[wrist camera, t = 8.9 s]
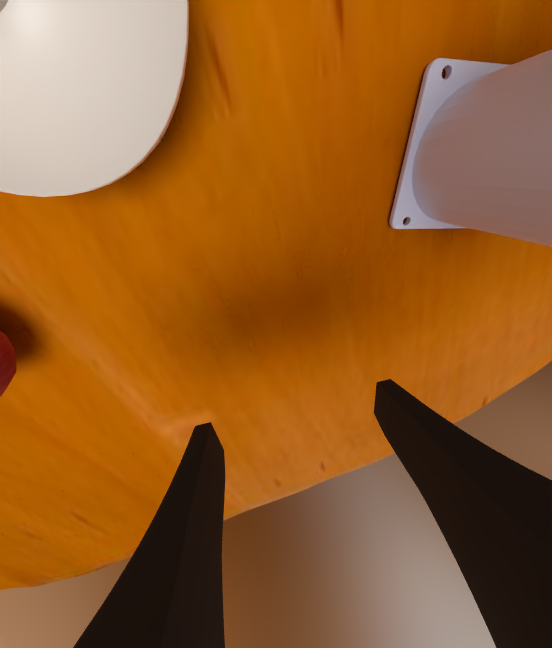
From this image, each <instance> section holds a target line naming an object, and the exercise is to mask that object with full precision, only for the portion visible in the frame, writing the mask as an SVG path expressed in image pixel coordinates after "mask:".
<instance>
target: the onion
mask: <svg viewBox="0 0 552 648" xmlns="http://www.w3.org/2000/svg"><path fill="white" fill-rule="evenodd" d="M15 373H16V356H15V349H14V348H13V346H12V344H11V343H10V341H9V339H8V337H7V336H6V335H5V334H4V333H3V332H1V331H0V396H2V394H3V393H4V391H5V390H6V388H7V387H8V385H9V383H10V382H11V380H12V378H13V376H14V375H15Z"/></svg>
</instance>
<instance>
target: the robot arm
mask: <svg viewBox="0 0 552 648" xmlns="http://www.w3.org/2000/svg"><path fill="white" fill-rule="evenodd" d="M443 68H444V69H445V71H446V76H445V78H444V79H443V78H442V71H443ZM406 217H407V221H406V222H405V223H404V224H403V220H404V218H406ZM389 224H390V226H391V227H392V228H394V229H442V228H470V229H475V230H479V231H484V232H488V233H493V234H497V235H501V236H506V237H510V238H515V239H519V240H524V241H528V242H533V243H537V244H542V245H546V246H551V247H552V49H551V50H548V51H546V52H543V53H541V54H538V55H536V56H533V57H530V58H528V59H525V60H523V61H520V62H517V63H515V64H512V65H508V64H498V63H488V62H477V61H467V60H457V59H447V58H438V59H435V60H434V61H432V62H431V63H429V65H428V66H427V68H426V70H425V73H424V76H423V81H422V85H421V89H420V93H419V98H418V102H417V106H416V110H415V115H414V119H413V123H412V127H411V132H410V136H409V140H408V144H407V149H406V153H405V157H404V161H403V166H402V170H401V174H400V178H399V183H398V187H397V191H396V195H395V199H394V204H393V208H392V212H391V216H390V221H389ZM374 414H375V416H376V418H377V421H378V423H379V425H380V427H381V429H382V431H383V433H384V435H385V437H386V438H387V440H388V442H389V443H390V445H391V446H392V448H393V450H394V451H395V453H396V454H397V456H398V457H399V459H400V461H401V462H402V464H403V465H404V467H405V468H406V470H407V472H408V473H409V475H410V476H411V478H412V479H413V481H414V483H415V484H416V486H417V487H418V489H419V490H420V492H421V494H422V496H423V497H424V499H425V501H426V503H427V505H428V507H429V508H430V510H431V512H432V514H433V516H434V518H435V520H436V522H437V524H438V526H439V527H440V529H441V531H442V533H443V535H444V537H445V539H446V541H447V543H448V545H449V547H450V549H451V551H452V553H453V555H454V557H455V559H456V561H457V563H458V565H459V567H460V569H461V572H462V574H463V576H464V578H465V580H466V582H467V584H468V586H469V588H470V590H471V592H472V594H473V596H474V599H475V601H476V603H477V605H478V608H479V610H480V612H481V614H482V616H483V618H484V620H485V623H486V625H487V627H488V629H489V632H490V634H491V636H492V638H493V641H494V643H495V645H496V648H552V480H550V479H548V478H546V477H544V476H542V475H540V474H538V473H536V472H534V471H532V470H530V469H528V468H526V467H524V466H522V465H520V464H519V463H517V462H515V461H513V460H511V459H509V458H508V457H506V456H504V455H502V454H501V453H499V452H497V451H495V450H494V449H492V448H490V447H489V446H487V445H485V444H483V443H482V442H480V441H479V440H477V439H475V438H474V437H472V436H471V435H469V434H467V433H466V432H464V431H463V430H461V429H459V428H458V427H457V426H455V425H454V424H452V423H451V422H449V421H448V420H446V419H445V418H443V417H442V416H440V415H439V414H438V413H436V412H435V411H433V410H432V409H430V408H429V407H428V406H426V405H425V404H423V403H422V402H421V401H419V400H418V399H417V398H415V397H414V396H412V395H411V394H410V393H408V392H407V391H406V390H404V389H403V388H402V387H400V386H399V385H398V384H396V383H395V382H394V381H392V380H391V379H389V380H384V381H380V382H377V385H376V396H375V407H374ZM224 493H225V460H224V449H223V447H222V445H221V443H220V441H219V439H218V437H217V435H216V432H215V430H214V428H213V426H212V424H211V422H210V423H206V424H201V425H197V426H196V427H195V428H194V430H193V433H192V435H191V438H190V441H189V443H188V446H187V448H186V450H185V453H184V455H183V458H182V460H181V462H180V465H179V467H178V469H177V471H176V473H175V476H174V478H173V480H172V482H171V484H170V486H169V489H168V491H167V493H166V495H165V497H164V499H163V501H162V503H161V505H160V507H159V509H158V511H157V513H156V515H155V517H154V518H153V520H152V522H151V524H150V526H149V528H148V530H147V531H146V533H145V535H144V537H143V539H142V540H141V542H140V544H139V546H138V547H137V549H136V551H135V553H134V554H133V556H132V558H131V559H130V561H129V563H128V564H127V566H126V568H125V569H124V571H123V572H122V574H121V576H120V577H119V579H118V581H117V582H116V584H115V585H114V587H113V589H112V590H111V592H110V593H109V595H108V596H107V598H106V600H105V601H104V603H103V604H102V606H101V607H100V609H99V610H98V612H97V613H96V615H95V616H94V618H93V619H92V621H91V622H90V623H89V625H88V626H87V628H86V629H85V631H84V632H83V634H82V635H81V637H80V638H79V640H78V641H77V643H76V644H75V646H74V647H73V648H225V641H224V619H223V594H222V529H223V512H224Z"/></svg>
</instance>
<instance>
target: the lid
mask: <svg viewBox="0 0 552 648" xmlns="http://www.w3.org/2000/svg"><path fill="white" fill-rule="evenodd" d="M188 41H189V1H188V0H0V191H1V192H6V193H12V194H17V195H27V196H41V197H47V196H64V195H73V194H79V193H84V192H88V191H93V190H97V189H99V188H102V187H104V186H107V185H110V184H112V183H114V182H116V181H118V180H119V179H121V178H123V177H124V176H126V175H128V174H129V173H131V172H132V171H133V170H134V169H135V168H137V167H138V166H139V165H140V164H141V163H142V162H144V161H145V159H146V158H147V157H148V156H149V155H150V153H151V152H152V151H153V150H154V149H155V147H156V146H157V145H158V143H159V142H160V140H161V138H162V136H163V135H164V133H165V131H166V130H167V128H168V126H169V124H170V121H171V119H172V116H173V114H174V111H175V109H176V106H177V104H178V100H179V96H180V92H181V89H182V85H183V81H184V76H185V69H186V61H187V54H188Z"/></svg>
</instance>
